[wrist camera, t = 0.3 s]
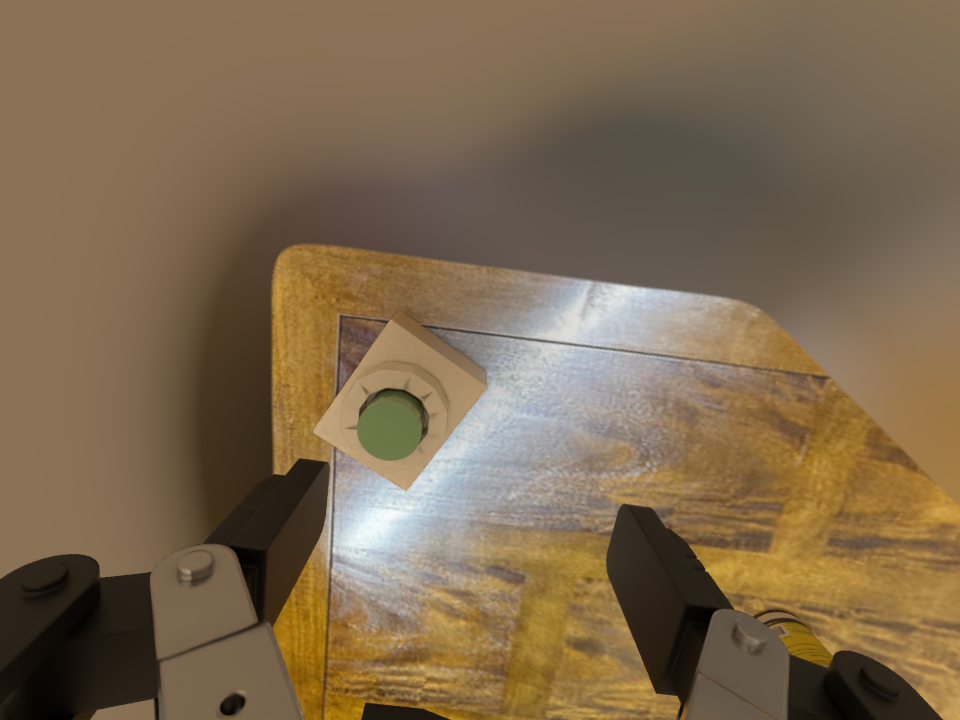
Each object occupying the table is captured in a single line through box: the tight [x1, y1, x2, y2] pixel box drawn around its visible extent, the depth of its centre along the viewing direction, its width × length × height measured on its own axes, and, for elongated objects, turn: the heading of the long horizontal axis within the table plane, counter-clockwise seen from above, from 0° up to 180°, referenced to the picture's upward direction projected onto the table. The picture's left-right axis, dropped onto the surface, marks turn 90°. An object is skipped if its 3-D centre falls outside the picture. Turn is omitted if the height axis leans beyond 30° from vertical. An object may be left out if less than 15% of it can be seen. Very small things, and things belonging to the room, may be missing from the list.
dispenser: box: [312, 311, 487, 491], centre depth 32 cm, size 10×8×6 cm
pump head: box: [357, 391, 425, 461], centre depth 28 cm, size 4×4×2 cm
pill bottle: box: [756, 612, 833, 668], centre depth 36 cm, size 6×6×11 cm
